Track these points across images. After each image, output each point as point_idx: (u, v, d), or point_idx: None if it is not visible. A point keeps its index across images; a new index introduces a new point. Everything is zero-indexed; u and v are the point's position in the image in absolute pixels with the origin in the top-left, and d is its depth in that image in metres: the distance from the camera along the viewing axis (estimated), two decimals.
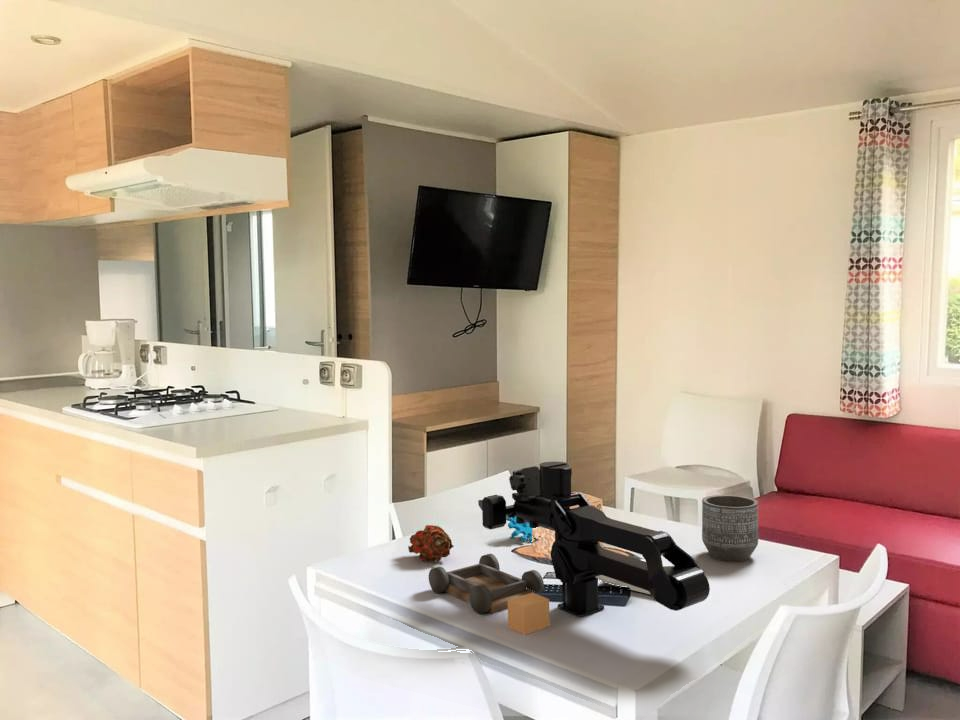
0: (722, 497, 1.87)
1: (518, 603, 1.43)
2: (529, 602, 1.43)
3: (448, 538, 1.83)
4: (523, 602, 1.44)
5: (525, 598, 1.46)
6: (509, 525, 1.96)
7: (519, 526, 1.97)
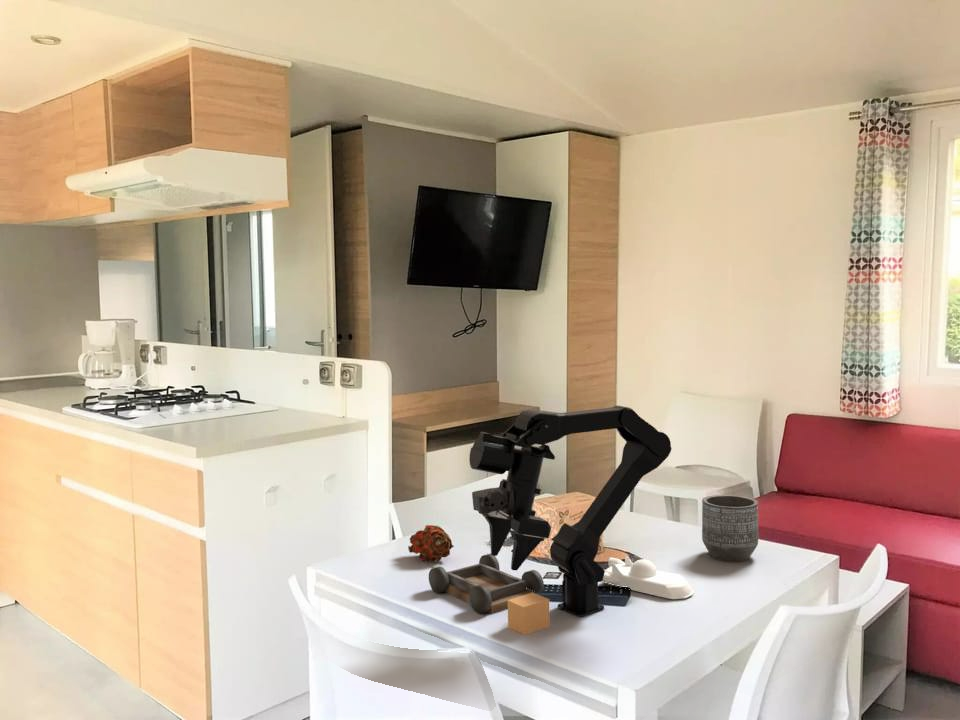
0: (722, 497, 1.87)
1: (518, 603, 1.43)
2: (529, 602, 1.43)
3: (448, 538, 1.83)
4: (523, 602, 1.44)
5: (525, 597, 1.46)
6: None
7: None
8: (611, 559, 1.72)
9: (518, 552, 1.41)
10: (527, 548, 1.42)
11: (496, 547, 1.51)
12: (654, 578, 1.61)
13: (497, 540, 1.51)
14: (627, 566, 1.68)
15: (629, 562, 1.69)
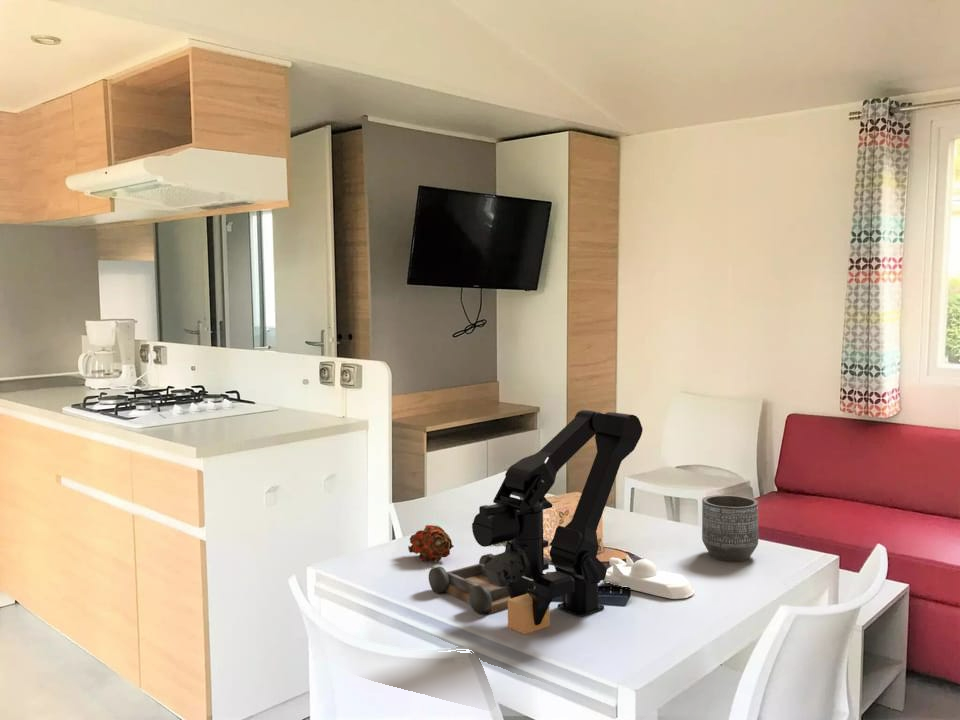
0: (722, 497, 1.87)
1: (518, 602, 1.43)
2: (529, 602, 1.43)
3: (448, 538, 1.83)
4: (523, 601, 1.44)
5: (525, 597, 1.46)
6: None
7: None
8: (612, 558, 1.73)
9: (539, 608, 1.42)
10: (546, 601, 1.43)
11: None
12: (655, 578, 1.61)
13: None
14: (628, 566, 1.69)
15: (630, 562, 1.69)
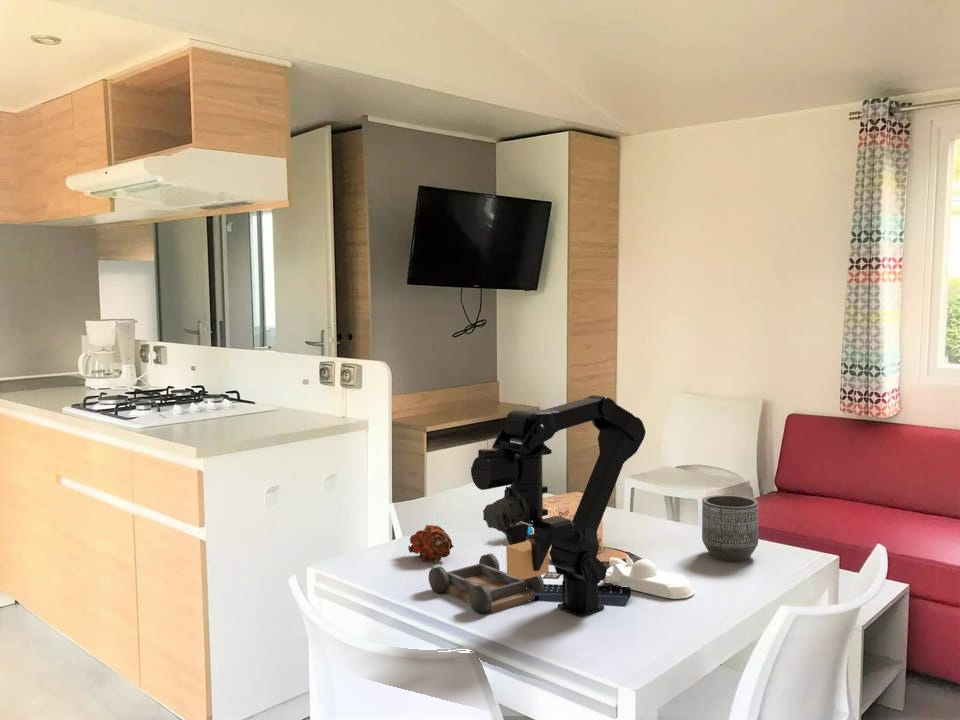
0: (722, 497, 1.87)
1: (517, 548, 1.43)
2: (527, 548, 1.43)
3: (448, 538, 1.83)
4: (522, 548, 1.43)
5: (524, 544, 1.45)
6: None
7: None
8: (612, 558, 1.73)
9: (538, 553, 1.41)
10: (545, 546, 1.42)
11: None
12: (655, 578, 1.61)
13: None
14: (628, 566, 1.69)
15: (630, 562, 1.69)
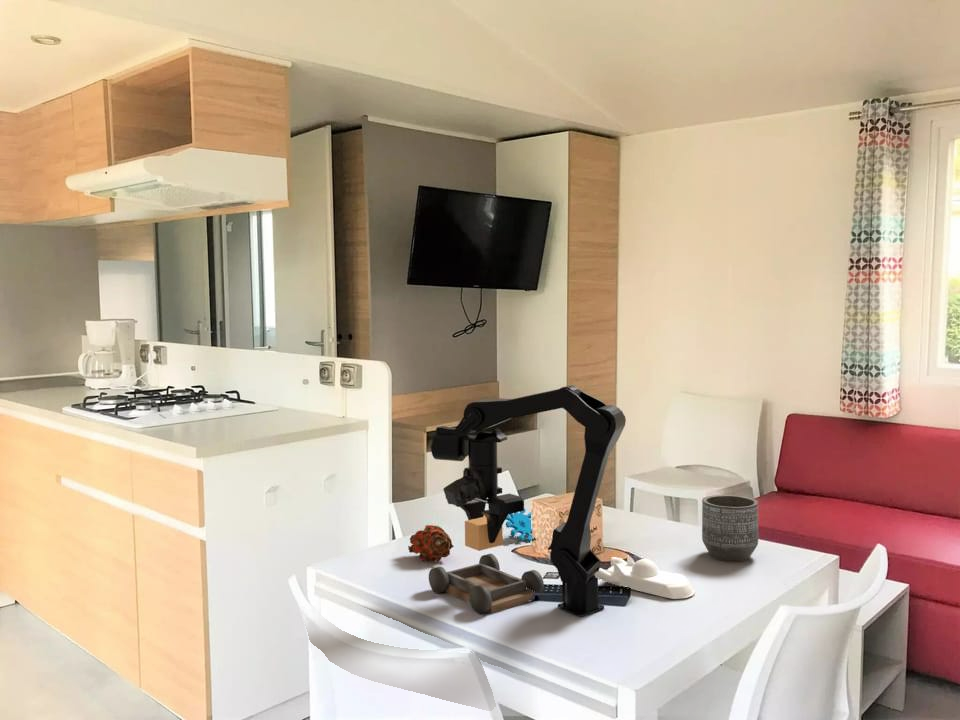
0: (722, 497, 1.87)
1: (474, 523, 1.59)
2: (483, 522, 1.59)
3: (448, 538, 1.83)
4: (478, 522, 1.59)
5: (480, 519, 1.62)
6: (506, 524, 1.97)
7: (517, 526, 1.98)
8: (613, 558, 1.73)
9: (493, 527, 1.58)
10: (500, 521, 1.58)
11: None
12: (656, 577, 1.61)
13: None
14: (629, 565, 1.69)
15: (631, 562, 1.69)
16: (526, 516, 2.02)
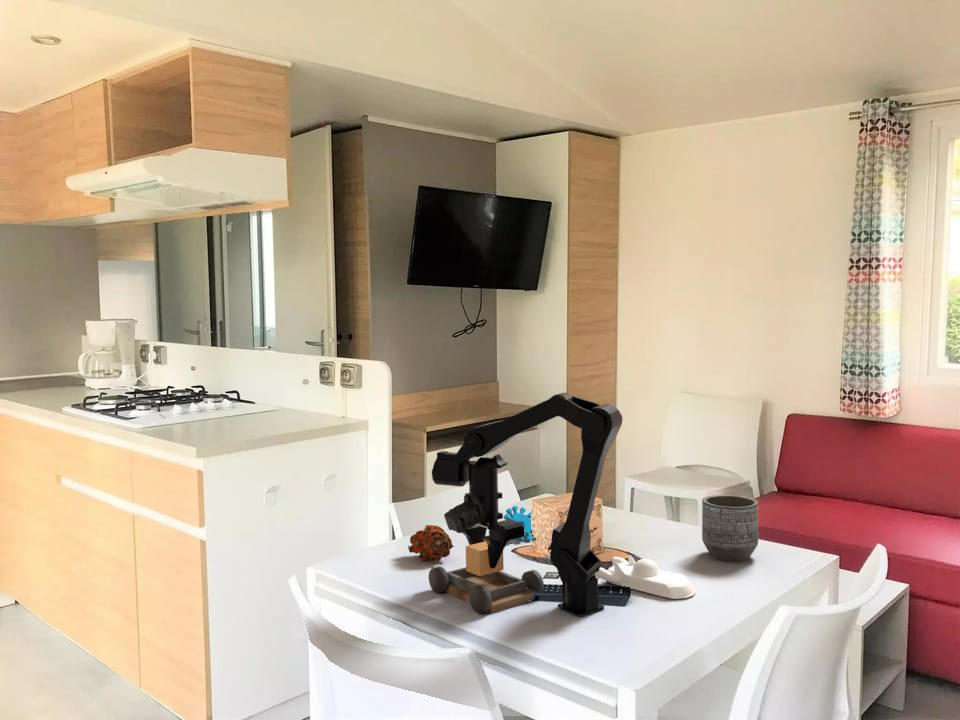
0: (722, 497, 1.87)
1: (475, 548, 1.60)
2: (484, 548, 1.60)
3: (448, 538, 1.83)
4: (479, 547, 1.60)
5: (481, 544, 1.62)
6: None
7: None
8: (615, 558, 1.73)
9: (494, 553, 1.58)
10: (500, 546, 1.59)
11: None
12: (656, 577, 1.61)
13: None
14: (630, 565, 1.69)
15: (632, 561, 1.69)
16: (526, 516, 2.02)
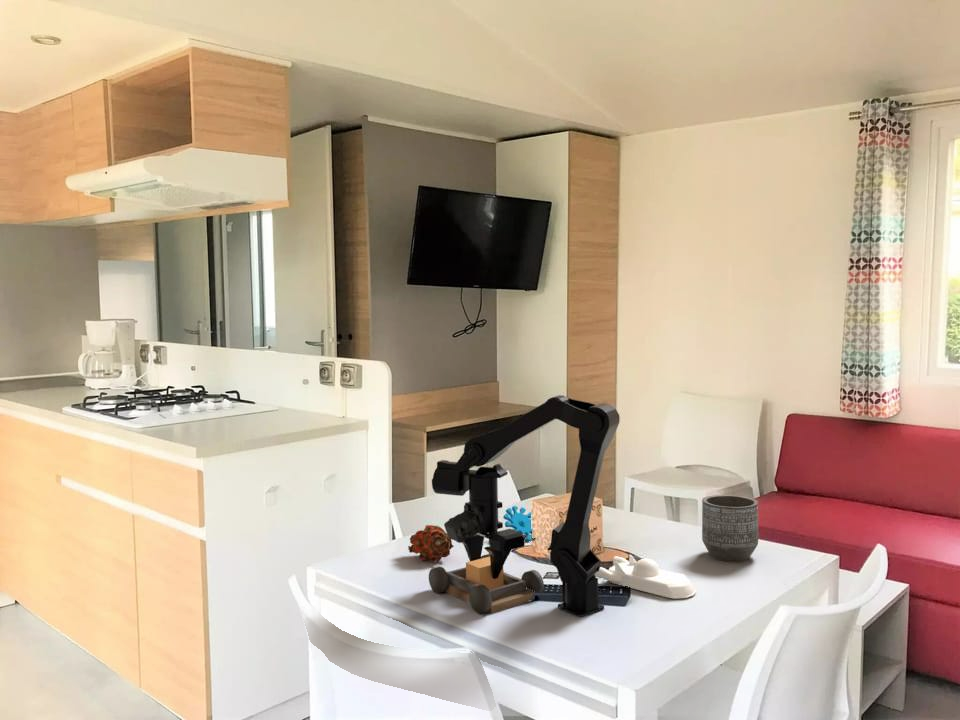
0: (722, 497, 1.87)
1: (475, 565, 1.60)
2: (484, 564, 1.60)
3: (448, 538, 1.83)
4: (479, 564, 1.60)
5: (481, 560, 1.62)
6: (506, 524, 1.97)
7: (516, 525, 1.98)
8: (616, 557, 1.73)
9: (496, 563, 1.58)
10: (503, 557, 1.58)
11: None
12: (657, 577, 1.61)
13: (475, 556, 1.64)
14: (631, 565, 1.69)
15: (633, 561, 1.70)
16: (526, 516, 2.02)
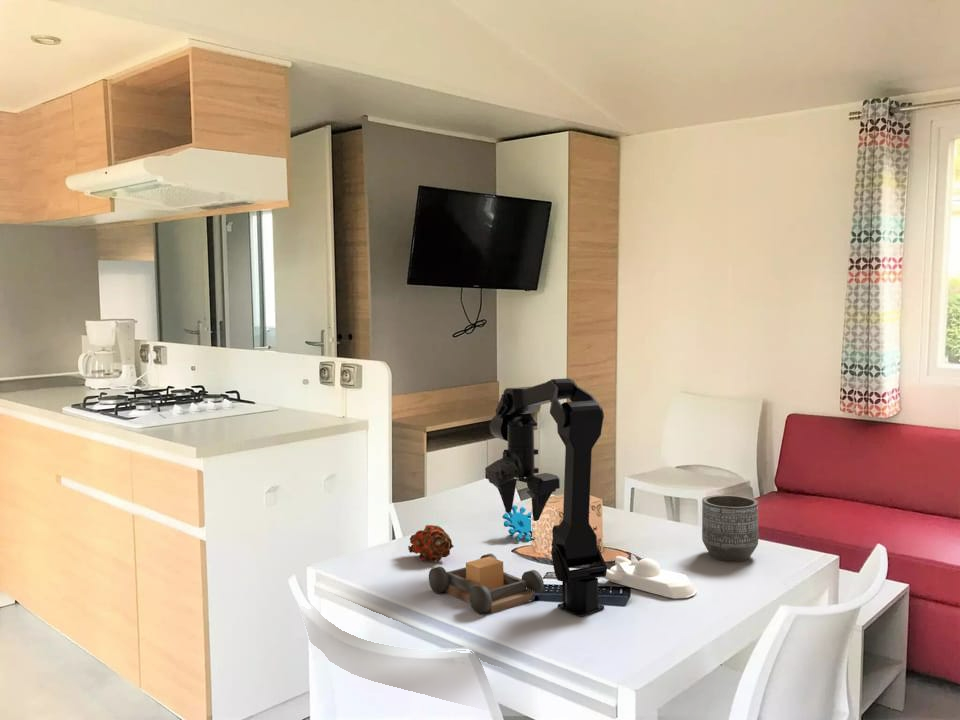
0: (722, 497, 1.87)
1: (475, 565, 1.60)
2: (484, 564, 1.60)
3: (448, 538, 1.83)
4: (479, 564, 1.60)
5: (481, 560, 1.62)
6: (504, 523, 1.97)
7: (515, 525, 1.98)
8: (618, 557, 1.74)
9: (537, 506, 1.70)
10: (543, 500, 1.71)
11: (509, 504, 1.79)
12: (657, 577, 1.62)
13: (508, 499, 1.79)
14: (633, 565, 1.69)
15: (635, 561, 1.70)
16: (525, 516, 2.02)
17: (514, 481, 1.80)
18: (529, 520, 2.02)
